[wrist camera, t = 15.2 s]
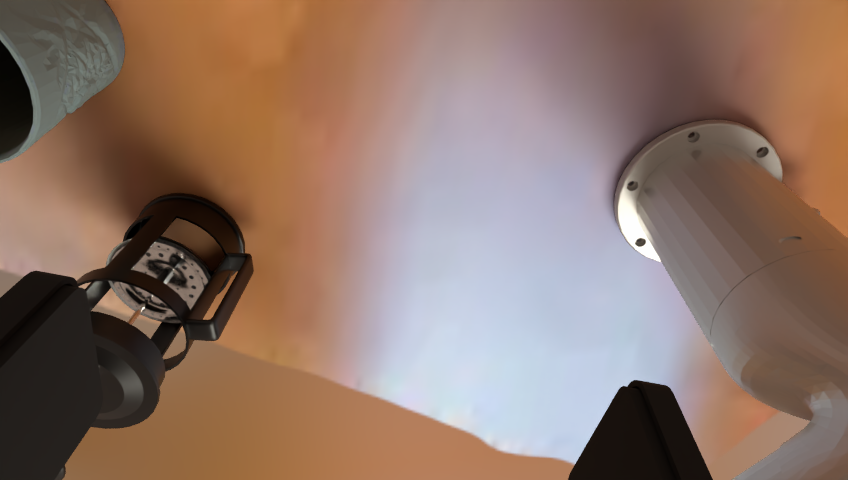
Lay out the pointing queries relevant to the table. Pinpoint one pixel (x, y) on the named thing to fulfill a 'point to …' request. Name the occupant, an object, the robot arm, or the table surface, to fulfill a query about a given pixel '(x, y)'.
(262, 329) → the table surface
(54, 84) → the grey embossed plant pot
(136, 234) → the french press
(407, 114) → the table surface
